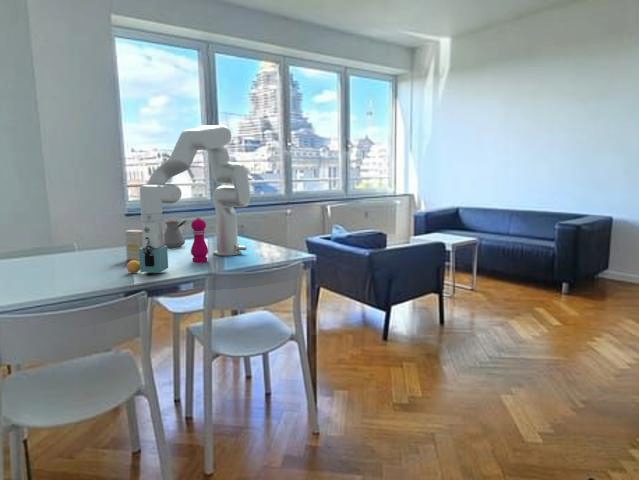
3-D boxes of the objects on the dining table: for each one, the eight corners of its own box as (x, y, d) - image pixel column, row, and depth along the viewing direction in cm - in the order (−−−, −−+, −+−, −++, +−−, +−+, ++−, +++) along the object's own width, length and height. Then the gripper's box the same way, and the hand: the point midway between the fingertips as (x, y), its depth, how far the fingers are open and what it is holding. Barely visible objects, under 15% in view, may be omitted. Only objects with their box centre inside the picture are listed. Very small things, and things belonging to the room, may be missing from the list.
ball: (132, 257, 179) (128, 268, 180) (126, 260, 174) (122, 272, 175) (144, 261, 179) (140, 273, 180) (139, 264, 174) (135, 276, 175)
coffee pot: (157, 246, 234) (156, 217, 232) (179, 244, 242) (178, 215, 239) (176, 253, 218) (174, 221, 216) (198, 250, 226) (197, 219, 223)
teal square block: (168, 267, 180) (167, 245, 179) (160, 272, 173) (159, 249, 171) (149, 267, 181) (147, 245, 179) (140, 272, 173) (138, 248, 172)
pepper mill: (211, 260, 201) (210, 214, 198) (202, 264, 195) (200, 216, 191) (197, 259, 204) (195, 214, 200) (187, 262, 197) (185, 215, 194)
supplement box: (149, 259, 202) (147, 230, 200) (140, 262, 198) (138, 231, 196) (135, 258, 206) (133, 229, 204) (126, 260, 201) (124, 230, 199)
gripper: (151, 220, 165) (154, 269, 168) (170, 215, 182) (172, 259, 185) (131, 220, 165) (134, 268, 168) (151, 215, 182) (154, 259, 185)
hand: (154, 263), depth 176 cm, fingers closed on teal square block, 7 cm apart
